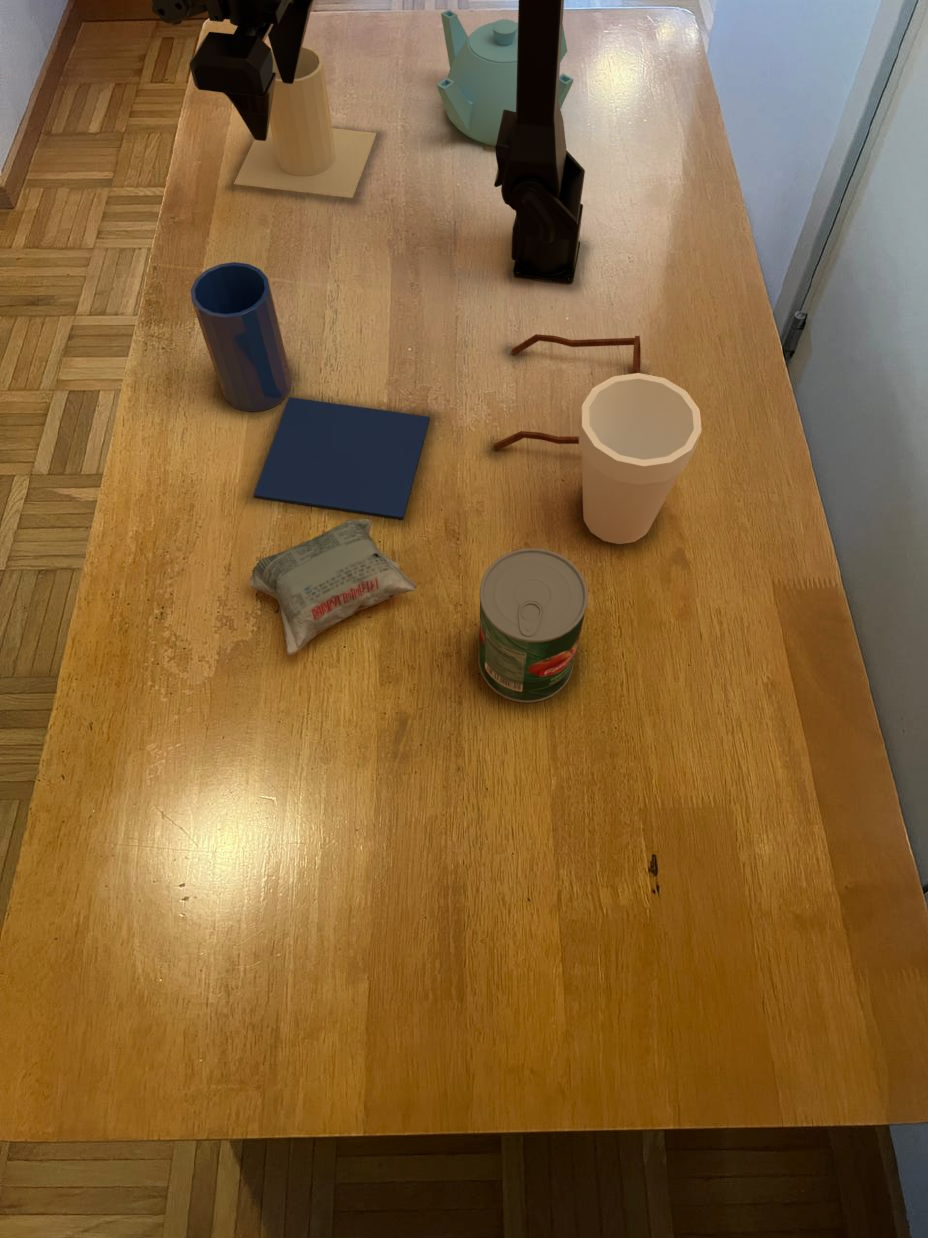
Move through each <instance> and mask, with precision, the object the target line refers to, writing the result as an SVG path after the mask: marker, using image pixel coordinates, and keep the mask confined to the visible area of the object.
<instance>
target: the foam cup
mask: <svg viewBox="0 0 928 1238" xmlns="http://www.w3.org/2000/svg"><path fill="white" fill-rule="evenodd" d="M702 431H703V429H702V419H701V411H700V408H699V407H698V405H697V404H696V402H695V401H694V400H693V398H692V397H691V395H690V394H689V393H688V391H687V390H685V389H683V388H682V387H681V386H679V385H677V384H675V383H674V382H672V381H670V380H668V379H667V378H665V377H660V376H655V375H650V374H646V373H641V372H640V373H635V374H633V373H627V374H622V375H614V376H611V377H610V378H608V379H606V380H605V381H603V382H600V383H599V384H597V385H596V386H594V387H593V388H592V389H591V390H590V392H589V393H588V395H587V396H586V398H585V400H584V402H583V403H582V405H581V407H580V415H579V422H578V437H579V444H578V447H579V448H580V450H581V475H582V477H581V479H582V482H581V483H582V512H583V514H582V515H583V522H584V523H585V525H586V526H587V529H588V530H589V532H590V533H591V534H593V535H595V536H596V537H597V538H599V539H600V540H602V541H603V542H608V543H612V544H616V545H622V544H630V543H635V542H636V541H638V540H640V539H642V538H643V537H644V536H646V535H647V534H648V533H649V531H650V530H651V528H652V526H653V524H654V522H655V519H656V518H657V516H658V514H659V512H660V510H661V509H662V507H663V505H664V504H665V502H666V500H667V498H668V496H669V495H670V493H671V490H672V488H673V487H674V485H675V484H676V481H677V479H678V478H679V476H680V474H681V472H683V471H684V470H685V469H687V466H688V465H689V462H690V461H691V459H692V457H693V455H694V453H695V452H696V448H697V447H698V443H699V440H700V437H701V434H702Z"/></svg>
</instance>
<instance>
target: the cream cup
mask: <svg viewBox="0 0 928 1238" xmlns="http://www.w3.org/2000/svg"><path fill="white" fill-rule="evenodd" d="M271 52H272V57H273V72H274V73H276V79H275V87H274V93H273V100H272V108H271V115H270V127H271V132H272V137H273V142H274V147H275V152H276V157H277V162H278V165H279V166H280V168H281V169H282V170H284V171H285V172H287V173H289V174H292V175H296V176H312V175H316V174H319V173H322V172H324V171H326V170H327V169H328V168H330V167H331V166H332V164H333V163H334V161H335V157H336V155H335V145H334V138H333V130H332V128H333V124H332V117H331V116H332V115H331V109H330V102H329V96H328V95H329V94H328V87H327V81H326V80H327V79H326V73H325V65H324V60H323V56H322V54H321V53H320V52H319V51H317V49H315V48H314V47H310V46H308V45H306V44H305V45H304V44H303V45H302V49H301V53H300V58H299V62H298V66H297V71H296V75H295V79H294V82H293V84H286V83H283V82H282V79H281V76H280V74H279V71H278V68H277V65H276V61H275V58H274V55H273V51H272V48H271Z"/></svg>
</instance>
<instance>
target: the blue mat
mask: <svg viewBox="0 0 928 1238" xmlns="http://www.w3.org/2000/svg"><path fill="white" fill-rule="evenodd" d="M285 404H286V405H285V407H284V409H283V413H282V415H281V418H280V422H279V424H278V426H277V430H276V432H275V435H274V437H273V440H272V443H271V446H270V448H269V451H268V454H267V457H266V459H265V462H264V465H263V468H262V470H261V473H260V476H259V479H258V482H257V483H256V486H255V490H254V493H253V498H257V499H263V500H270V501H276V502H282V503H290V504H296V505H302V506H309V507H317V508H322V509H330V510H336V511H343V512H350V513H354V514H355V513H356V514H361V515H367V516H368V515H369V516H374V517H375V516H376V517H383V518H389V519H397V520H404V519H405V515H406V512H407V507H408V503H409V500H410V496H411V492H412V488H413V484H414V480H415V477H416V473H417V469H418V465H419V462H420V457H421V454H422V451H423V450H422V449H423V446H424V442H425V438H426V436H427V435H426V434H427V431H428V427H429V423H430V419H431V417H430V416H427V415H420V414H413V413H407V412H406V413H405V412H398V411H392V410H384V409H376V408H370V407H361V406H357V405H347V404H341V403H333V402H327V401H320V400H313V399H305V398H297V397H290V396H289V397H288V399H287V402H286V403H285Z"/></svg>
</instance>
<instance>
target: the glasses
mask: <svg viewBox="0 0 928 1238" xmlns="http://www.w3.org/2000/svg"><path fill="white" fill-rule="evenodd" d="M538 342H547V343H555V344H559V345H562V346H566V347H570V348H588V347H589V348H590V347H616V346H617V347H618V346H619V347H620V346H633V351H632V354H633V355H632V374H635V373H641V361H642V357H641V356H642V355H641V354H642V353H641V349H642V348H641V347H642V346H641V337H640V335H635V336H634V337H620V338H617V337H615V338H592V339H591V338H589V339H588V338H587V339H569V338H565V337H562V336H558V335H550V334H538V333H537V334H534V335H532V336H530V337H529V338H527V339H526V340H524V341H523V342H521V343H519V344H518V345H516V346H515V347H513V348H511V353H512V354H513V355H514V356H517V355H518V354H519V353H522V352H523V351H524V350H526V349H528V348H529V347H531V346H534V345H535V344H536V343H538ZM523 439H530V440H539V441H540V440H541V441H544V442H549V443H553V444H557V445H579V436H556V435H552V434H549V433H544V432H538V431H526V430H520V431H518V432H516V433H514V434H511V435H510V436H508V437H505V438H503V439H501V440H499V441H497V442H495V443H493V448H494V449H495V450H496V451H500V450H502V449H504V448H506V447H508V446H510V445H512V444H514V443H516V442H518V441H521V440H523Z"/></svg>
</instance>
